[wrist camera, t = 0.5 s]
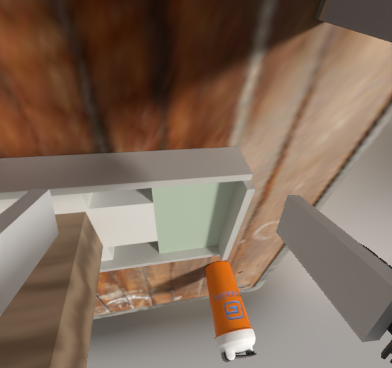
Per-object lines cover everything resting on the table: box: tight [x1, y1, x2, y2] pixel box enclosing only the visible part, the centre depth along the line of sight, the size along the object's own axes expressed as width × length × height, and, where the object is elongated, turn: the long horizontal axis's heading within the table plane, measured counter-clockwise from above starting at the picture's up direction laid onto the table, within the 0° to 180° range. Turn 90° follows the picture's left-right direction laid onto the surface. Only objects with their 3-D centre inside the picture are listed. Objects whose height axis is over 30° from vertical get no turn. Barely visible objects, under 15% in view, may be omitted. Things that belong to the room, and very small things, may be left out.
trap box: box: [0, 147, 255, 272], centre depth 31 cm, size 21×30×7 cm
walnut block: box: [0, 212, 103, 368], centre depth 23 cm, size 9×9×16 cm
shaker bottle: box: [205, 261, 256, 362], centre depth 51 cm, size 9×9×20 cm
